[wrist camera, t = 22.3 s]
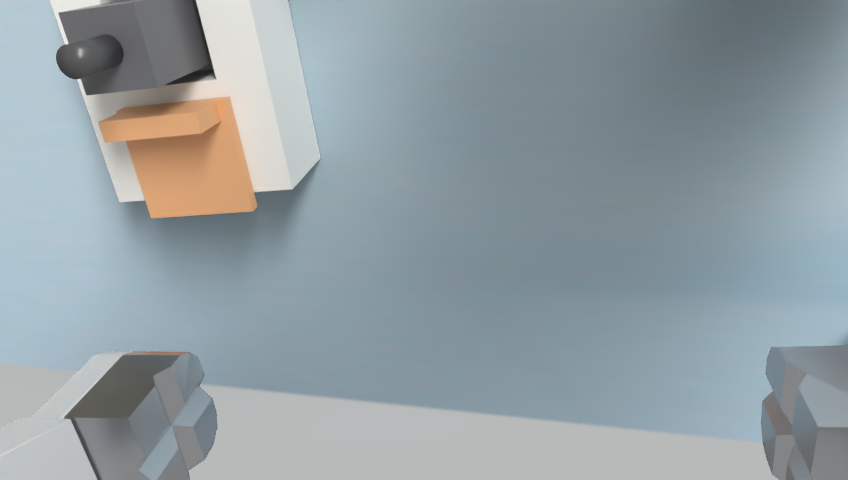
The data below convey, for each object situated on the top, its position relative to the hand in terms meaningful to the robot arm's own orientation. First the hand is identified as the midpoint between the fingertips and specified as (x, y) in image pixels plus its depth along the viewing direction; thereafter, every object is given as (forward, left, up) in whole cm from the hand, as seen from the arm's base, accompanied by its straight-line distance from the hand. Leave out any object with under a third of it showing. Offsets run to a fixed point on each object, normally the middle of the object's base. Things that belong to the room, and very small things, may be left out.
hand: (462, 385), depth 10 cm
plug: (-3, -20, -33) cm, 39 cm away
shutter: (+5, -21, -29) cm, 36 cm away
